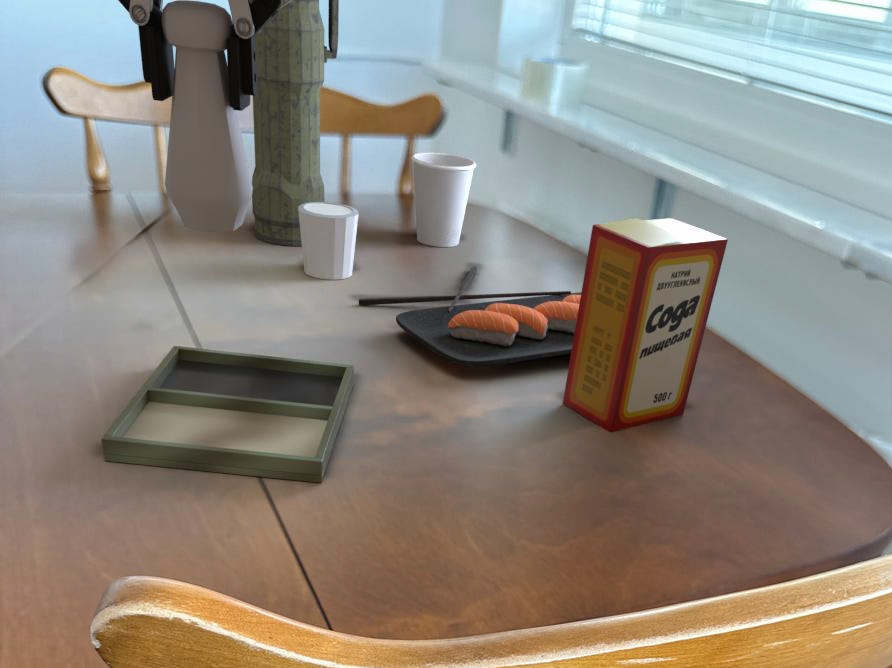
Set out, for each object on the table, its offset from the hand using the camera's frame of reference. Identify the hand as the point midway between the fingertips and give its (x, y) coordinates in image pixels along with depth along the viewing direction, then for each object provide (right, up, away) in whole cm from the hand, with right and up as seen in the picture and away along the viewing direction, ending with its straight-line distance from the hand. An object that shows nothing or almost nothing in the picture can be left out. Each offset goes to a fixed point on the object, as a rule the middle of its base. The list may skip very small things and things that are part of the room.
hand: (202, 99), depth 61 cm
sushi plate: (+20, +1, +43) cm, 47 cm away
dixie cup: (+12, +18, +64) cm, 68 cm away
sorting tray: (-1, -17, +16) cm, 23 cm away
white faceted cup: (0, +8, +49) cm, 49 cm away
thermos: (-7, +16, +59) cm, 61 cm away
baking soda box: (+31, -14, +26) cm, 43 cm away
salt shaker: (-1, -6, +5) cm, 8 cm away
